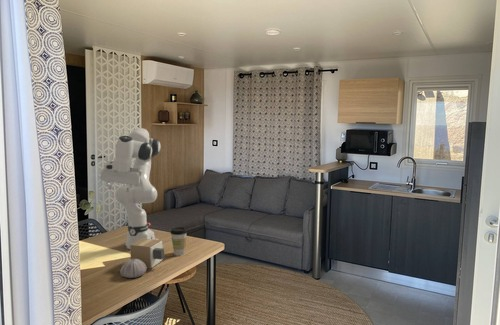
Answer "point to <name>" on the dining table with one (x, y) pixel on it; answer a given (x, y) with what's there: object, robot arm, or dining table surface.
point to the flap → (156, 254)
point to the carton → (143, 250)
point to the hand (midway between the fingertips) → (118, 190)
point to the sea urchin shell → (133, 268)
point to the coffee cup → (179, 240)
